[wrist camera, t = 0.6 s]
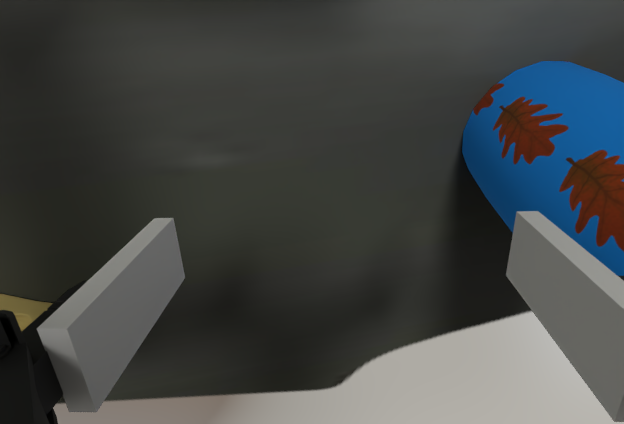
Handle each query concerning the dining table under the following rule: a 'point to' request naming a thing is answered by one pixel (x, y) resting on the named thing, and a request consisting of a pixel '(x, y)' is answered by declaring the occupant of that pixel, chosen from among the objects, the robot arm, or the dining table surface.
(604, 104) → the thermos
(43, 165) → the dining table surface
